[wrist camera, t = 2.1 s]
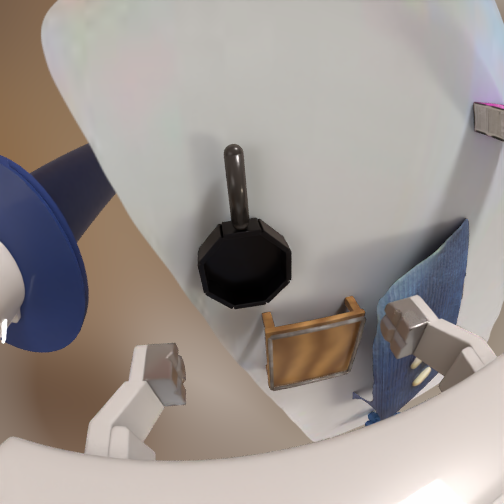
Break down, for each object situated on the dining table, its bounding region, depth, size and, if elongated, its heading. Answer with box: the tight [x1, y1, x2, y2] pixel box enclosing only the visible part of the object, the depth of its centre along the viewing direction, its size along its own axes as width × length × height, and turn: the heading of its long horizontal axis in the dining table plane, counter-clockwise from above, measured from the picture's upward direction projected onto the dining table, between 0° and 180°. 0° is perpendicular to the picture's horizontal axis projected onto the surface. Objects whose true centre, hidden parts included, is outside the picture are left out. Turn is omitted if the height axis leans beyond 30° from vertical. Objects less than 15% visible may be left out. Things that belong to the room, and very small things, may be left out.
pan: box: [198, 144, 291, 309], centre depth 29 cm, size 10×19×3 cm, turn 5°
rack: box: [262, 296, 366, 391], centre depth 40 cm, size 14×14×5 cm
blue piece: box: [352, 219, 469, 421], centre depth 47 cm, size 45×27×12 cm, turn 21°
